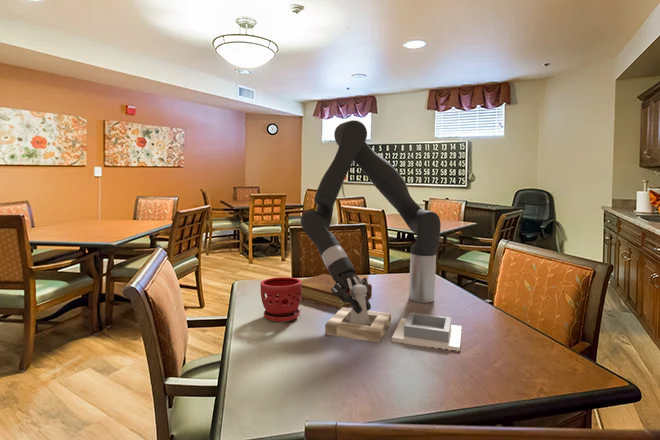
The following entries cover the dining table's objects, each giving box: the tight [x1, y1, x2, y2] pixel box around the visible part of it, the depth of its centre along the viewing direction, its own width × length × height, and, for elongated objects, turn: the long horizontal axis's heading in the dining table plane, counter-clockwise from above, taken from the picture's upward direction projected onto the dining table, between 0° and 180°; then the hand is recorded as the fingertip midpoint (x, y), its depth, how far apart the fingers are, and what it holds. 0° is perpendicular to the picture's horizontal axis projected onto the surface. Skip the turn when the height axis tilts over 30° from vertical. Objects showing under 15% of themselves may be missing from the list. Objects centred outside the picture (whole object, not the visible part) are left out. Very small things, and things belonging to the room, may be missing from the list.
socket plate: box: [391, 311, 463, 352], centre depth 117 cm, size 16×18×4 cm
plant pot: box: [260, 276, 302, 323], centre depth 130 cm, size 13×13×12 cm
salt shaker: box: [349, 285, 369, 326], centre depth 121 cm, size 6×6×13 cm
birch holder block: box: [324, 307, 392, 343], centre depth 121 cm, size 16×16×3 cm
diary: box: [301, 273, 373, 310], centre depth 153 cm, size 23×19×6 cm
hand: (364, 310), depth 120 cm, fingers closed on salt shaker, 3 cm apart
